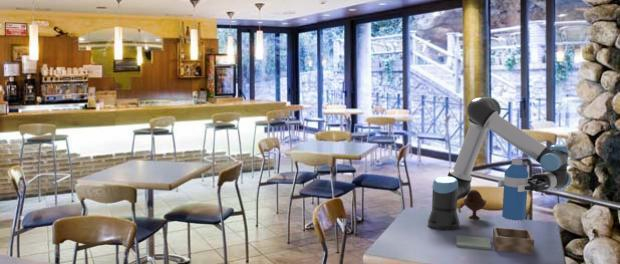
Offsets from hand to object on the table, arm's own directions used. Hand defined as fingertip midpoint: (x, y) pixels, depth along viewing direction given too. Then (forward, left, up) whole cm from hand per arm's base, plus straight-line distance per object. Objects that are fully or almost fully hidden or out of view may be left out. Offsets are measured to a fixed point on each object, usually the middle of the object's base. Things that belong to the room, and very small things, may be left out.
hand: (508, 186), depth 226 cm
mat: (-13, +3, -27) cm, 30 cm away
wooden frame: (+3, +3, -27) cm, 27 cm away
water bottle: (+3, +3, -14) cm, 15 cm away
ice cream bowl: (-11, +47, -27) cm, 55 cm away
